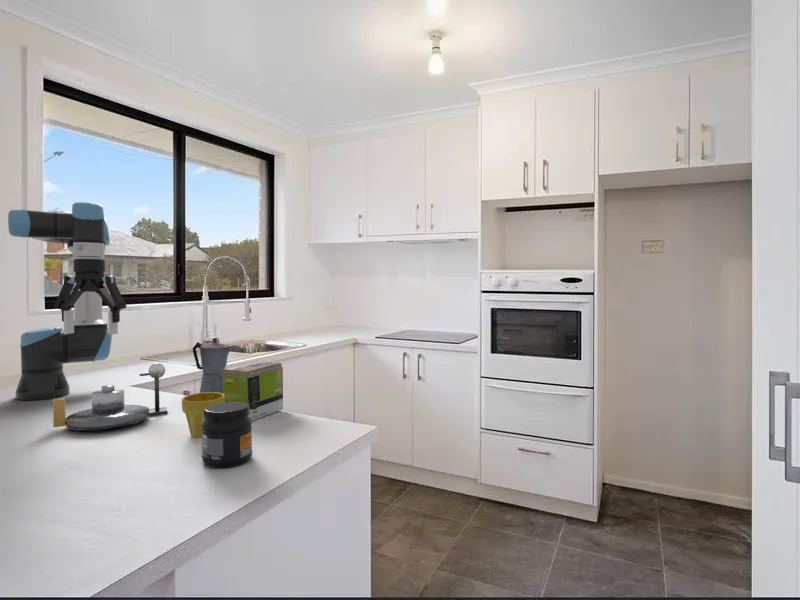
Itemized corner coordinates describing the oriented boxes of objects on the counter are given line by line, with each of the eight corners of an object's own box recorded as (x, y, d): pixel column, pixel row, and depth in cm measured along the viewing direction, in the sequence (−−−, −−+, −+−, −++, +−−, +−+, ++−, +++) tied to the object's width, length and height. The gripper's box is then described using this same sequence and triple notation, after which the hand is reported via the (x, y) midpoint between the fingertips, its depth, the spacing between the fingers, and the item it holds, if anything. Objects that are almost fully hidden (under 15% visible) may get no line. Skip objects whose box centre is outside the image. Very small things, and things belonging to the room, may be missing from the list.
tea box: (258, 406, 155) (258, 360, 154) (283, 410, 150) (283, 362, 150) (222, 418, 141) (221, 367, 141) (248, 423, 137) (248, 370, 136)
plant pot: (183, 442, 120) (183, 403, 120) (181, 431, 129) (180, 394, 129) (228, 436, 125) (227, 398, 125) (222, 425, 134) (221, 390, 134)
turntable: (56, 417, 138) (56, 392, 138) (146, 406, 150) (146, 383, 149) (50, 436, 121) (49, 408, 121) (152, 422, 132) (151, 396, 132)
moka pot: (224, 399, 164) (223, 339, 163) (183, 397, 167) (182, 338, 166) (239, 393, 173) (238, 336, 172) (200, 391, 176) (199, 335, 175)
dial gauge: (139, 413, 146) (138, 362, 146) (165, 410, 150) (164, 360, 149) (140, 417, 142) (139, 365, 142) (167, 414, 146) (166, 363, 145)
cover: (92, 407, 142) (91, 385, 142) (123, 404, 146) (123, 382, 146) (91, 414, 135) (91, 390, 135) (125, 410, 140) (124, 387, 139)
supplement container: (261, 454, 112) (260, 402, 112) (235, 471, 102) (235, 414, 101) (220, 450, 114) (219, 399, 114) (191, 467, 104) (190, 411, 104)
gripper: (37, 258, 135) (40, 334, 136) (121, 258, 132) (122, 336, 133) (59, 259, 143) (61, 331, 144) (139, 259, 140) (140, 333, 141)
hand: (91, 334), depth 138 cm, fingers open, 13 cm apart
